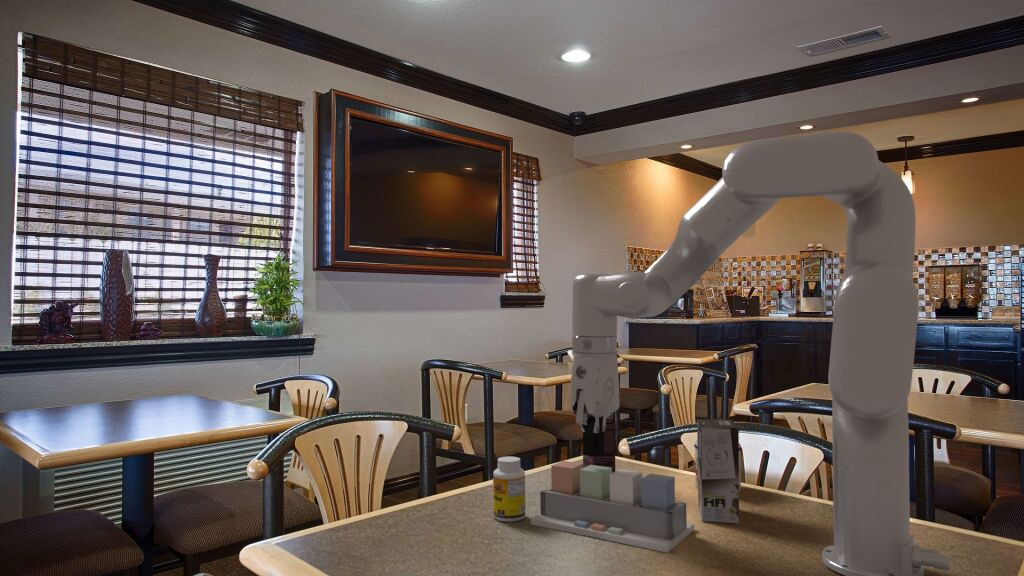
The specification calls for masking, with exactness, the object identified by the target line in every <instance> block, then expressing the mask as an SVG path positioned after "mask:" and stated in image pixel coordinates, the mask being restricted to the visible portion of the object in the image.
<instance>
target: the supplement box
mask: <svg viewBox="0 0 1024 576" xmlns="http://www.w3.org/2000/svg"><path fill="white" fill-rule="evenodd" d="M587 413H588V412H587ZM602 432H604V455H602V456H600V457H593V456H587V455H584V454H583V453H582V464H583V468H585V467H587V466H589V465H596V466H603V467H610V468H612V473H613V472H615V471H616V411H615V412H613V413H610V416H609V417H608V418H607V419H606V428H605V431H602Z"/></svg>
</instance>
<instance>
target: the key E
mask: <svg viewBox="0 0 1024 576" xmlns="http://www.w3.org/2000/svg"><path fill="white" fill-rule="evenodd" d="M611 473H612V468H610V467H603V466H596V465H589V466H587V467H585V468H582V469H580V496H582V497H588V498H593V499H599V500H604V499H606V498H607V497H609V496H610V474H611Z"/></svg>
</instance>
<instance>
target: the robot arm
mask: <svg viewBox="0 0 1024 576" xmlns="http://www.w3.org/2000/svg"><path fill="white" fill-rule="evenodd" d="M721 175H722V177H721V178H720V179H719V180H718V181H717V182H716V183H715V184H713V186H712V187H711V188H709V190H707V192H706V193H705V194H703V196H701V197H700V199H699V198H698V199H699V200H697V202H695V203H694V204H693V205H692V206H691V207H690V208H688V210H687V211H686V212H685V213H684V214H683V215H682V217H681V218H680V221H679V223H678V228H677V231H676V235H675V238H674V239H673V241H672V243H671V244H670V245H669V247H668V248H667V249H666V250H665V252H663V254H661V256H659V258H658V259H657V260H656V261H654V262H653V264H652V265H651V266H650V267H648V269H646V271H628V272H621V273H620V272H619V273H615V274H609V273H580V274H578V275H576V276H575V277H574V279H573V282H572V322H571V323H572V326H571V327H572V331H571V334H572V340H571V348H572V349H571V355H572V356H573V358H572V359H573V360H572V368H571V377H570V397H569V399H570V401H569V403H570V411H571V413H572V414H573V415H576V417H575V424H578V425H580V426H581V431H582V455H583V454H584V455H587V456H593V457H600V456H602V455H604V432H602V431H605V428H606V419H607V418H608V417H609V416H610V413H613V412H615V413H616V412H617V411H618V410H619V409H620V399H621V398H620V380H619V379H620V376H619V367H618V358H617V355H618V344H617V343H618V335H617V334H618V317H622V318H628V319H629V318H630V319H644V318H651V317H656V316H658V315H660V314H662V313H664V312H665V311H667V310H668V309H669V308H670V307H671V306H673V304H675V303H676V302H677V301H678V300H679V299H680V298H682V296H683V295H685V294H686V292H688V291H689V290H690V289H692V287H693V286H694V285H695V284H696V283H697V282H698V281H699V280H700V279H701V278H702V276H704V274H705V273H706V272H707V271H708V270H709V269H710V268H711V267H712V266H713V265H714V264H715V263H716V262H717V261H718V259H719V258H720V257H721V255H722V254H724V252H725V251H726V250H727V249H728V248H730V247H731V246H732V245H733V244H734V243H735V242H736V241H737V240H738V239H740V237H742V235H743V234H744V233H746V232H747V231H748V230H749V229H750V228H751V227H752V226H754V224H755V223H756V222H757V221H759V220H760V219H761V218H762V217H763V216H764V215H765V214H766V213H767V212H768V211H770V210H771V209H772V208H773V207H774V206H775V205H776V204H777V203H778V202H779V201H780V200H782V199H785V198H786V199H787V198H800V197H802V198H803V197H816V196H817V197H818V196H819V197H821V196H822V197H823V198H825V199H827V200H828V201H830V202H833V203H835V204H837V205H839V206H840V207H841V208H842V210H843V211H844V212H845V214H846V217H847V230H846V231H847V232H846V242H845V243H846V246H845V247H846V249H845V251H846V252H845V260H844V270H843V277H842V279H841V280H840V281H839V284H838V286H837V288H836V292H835V298H834V308H833V318H832V319H833V321H832V332H831V341H830V352H829V353H830V354H829V366H828V378H827V379H828V380H827V381H828V388H829V391H830V393H831V395H832V397H831V398H832V399H831V403H832V406H831V407H832V411H831V412H832V417H831V418H832V422H831V424H832V428H831V429H832V432H831V433H832V496H833V497H832V499H833V500H832V502H833V503H832V504H833V507H832V508H833V510H832V511H833V513H832V514H833V517H832V518H833V544H831V545H829V546H826V547H824V548H823V549H822V551H821V557H822V558H821V559H822V562H823V564H825V566H826V567H827V568H829V569H831V570H832V571H834V572H836V573H838V574H840V575H843V576H925V568H924V566H925V567H930V568H933V569H935V570H936V569H937V570H943V571H948V572H950V555H947V554H943V553H940V550H938V549H932V548H925V547H920V545H919V544H915V535H912V534H911V522H910V521H911V520H910V518H911V517H910V516H911V515H910V514H911V512H910V462H909V461H910V440H909V439H910V437H909V436H910V435H909V434H910V433H909V428H910V427H909V407H908V406H909V405H908V404H909V403H908V401H909V400H908V399H909V396H910V393H911V388H912V382H913V381H912V380H913V373H914V372H913V370H914V363H915V351H916V340H917V330H918V329H917V328H918V321H919V319H918V317H919V292H918V289H917V286H916V285H915V282H914V266H915V265H914V264H915V251H916V250H915V247H916V244H915V243H916V225H917V224H916V222H917V221H916V208H915V202H914V199H913V195H912V193H911V190H910V189H909V188H908V185H906V183H905V181H904V180H903V179H902V177H901V176H900V175H899V174H898V173H897V172H896V171H895V170H894V169H892V168H891V167H890V166H889V165H887V164H885V163H884V162H882V161H881V160H879V156H878V152H877V149H876V148H875V146H874V145H873V144H872V142H871V141H870V140H869V139H868V138H866V137H865V136H863V135H861V134H858V133H856V132H851V131H839V130H838V131H829V132H828V131H827V132H826V131H825V132H817V133H808V134H802V135H801V134H800V135H799V134H798V135H792V136H791V135H790V136H783V137H782V136H780V137H773V138H765V139H764V138H763V139H757V140H751V141H747V142H744V143H742V144H740V145H738V146H736V147H735V148H734V149H733V150H732V151H731V152H730V153H729V154H728V155H727V156H726V158H725V160H724V162H723V165H722V170H721ZM587 412H588V413H587Z"/></svg>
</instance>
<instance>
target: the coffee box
mask: <svg viewBox="0 0 1024 576" xmlns="http://www.w3.org/2000/svg"><path fill="white" fill-rule="evenodd" d="M696 421H697V422H696V424H697V425H696V429H697V432H696V433H697V440H696V441H697V447H698V489H697V493H698V494H697V499H698V501H697V503H698V504H697V505H698V510H699V514H700V518H701V522H710V523H724V524H740V491H739V443H740V436H739V435H740V431H739V430H740V428H739V427H738V425H737V424H736V423H735V422H734V421H733V419H726V418H725V419H724V418H721V419H719V418H718V419H717V418H716V419H715V418H714V419H711V418H710V419H702V418H701V419H700V418H698V419H696Z"/></svg>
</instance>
